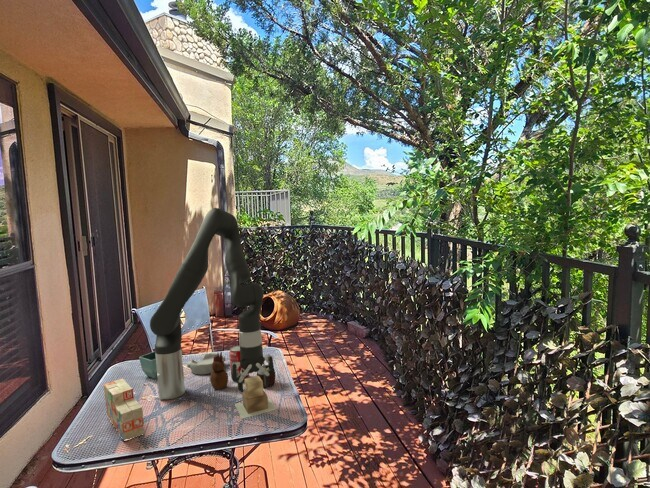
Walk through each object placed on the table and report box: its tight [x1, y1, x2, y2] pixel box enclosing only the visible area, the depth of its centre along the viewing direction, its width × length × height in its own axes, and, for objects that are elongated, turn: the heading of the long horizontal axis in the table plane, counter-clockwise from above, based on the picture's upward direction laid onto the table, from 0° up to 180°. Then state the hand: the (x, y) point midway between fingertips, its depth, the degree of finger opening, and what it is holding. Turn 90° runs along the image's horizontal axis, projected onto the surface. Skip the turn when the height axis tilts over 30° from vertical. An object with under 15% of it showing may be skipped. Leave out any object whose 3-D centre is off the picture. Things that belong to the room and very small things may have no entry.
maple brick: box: [244, 375, 264, 399], centre depth 139 cm, size 5×5×5 cm
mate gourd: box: [256, 362, 276, 390], centre depth 156 cm, size 8×8×15 cm
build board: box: [234, 395, 278, 419], centre depth 140 cm, size 12×11×1 cm
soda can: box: [228, 345, 250, 382], centre depth 165 cm, size 7×7×13 cm
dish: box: [186, 352, 226, 375], centre depth 178 cm, size 14×14×5 cm
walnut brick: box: [241, 389, 269, 414], centre depth 140 cm, size 7×7×4 cm
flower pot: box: [138, 350, 158, 379], centre depth 174 cm, size 9×9×9 cm
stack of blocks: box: [103, 378, 145, 440], centre depth 133 cm, size 21×6×12 cm, turn 40°
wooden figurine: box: [209, 351, 229, 391], centre depth 157 cm, size 7×6×15 cm
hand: (254, 388), depth 139 cm, fingers open, 8 cm apart
